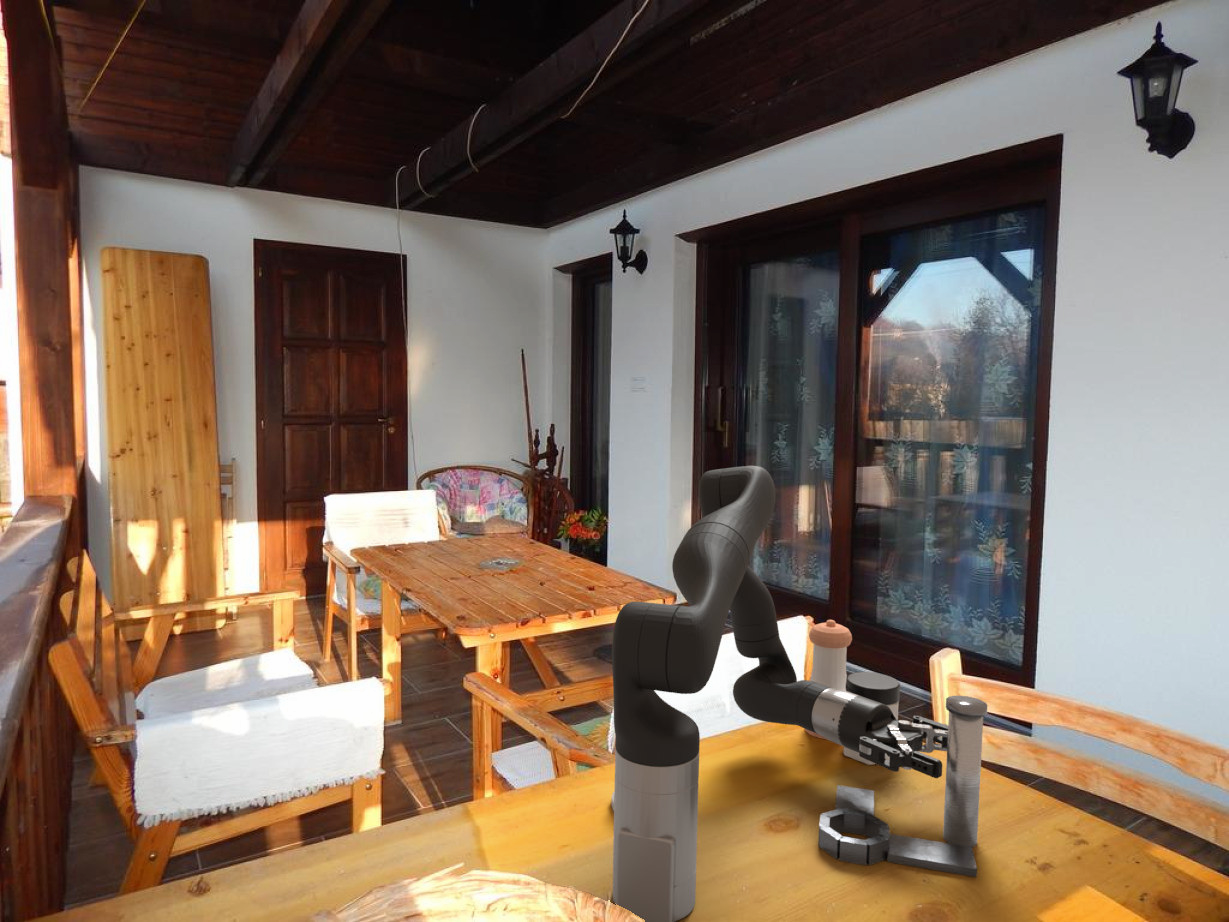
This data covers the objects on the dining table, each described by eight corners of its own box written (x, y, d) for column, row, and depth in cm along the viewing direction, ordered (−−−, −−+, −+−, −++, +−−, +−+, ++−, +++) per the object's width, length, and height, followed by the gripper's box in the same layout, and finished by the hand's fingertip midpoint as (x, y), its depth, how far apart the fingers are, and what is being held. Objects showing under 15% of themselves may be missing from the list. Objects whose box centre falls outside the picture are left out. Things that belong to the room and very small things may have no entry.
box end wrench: (978, 885, 94) (979, 864, 94) (817, 856, 100) (817, 837, 100) (961, 810, 112) (962, 793, 112) (824, 789, 117) (825, 773, 117)
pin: (982, 852, 101) (989, 711, 100) (941, 845, 103) (947, 706, 101) (977, 833, 106) (984, 698, 105) (938, 826, 107) (944, 693, 106)
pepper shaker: (825, 743, 133) (830, 628, 132) (795, 727, 140) (799, 617, 138) (858, 735, 137) (863, 623, 136) (827, 719, 143) (831, 612, 142)
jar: (845, 739, 135) (848, 668, 134) (897, 746, 132) (900, 674, 132) (840, 761, 127) (843, 685, 126) (896, 770, 124) (899, 693, 123)
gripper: (821, 706, 112) (929, 746, 100) (882, 685, 121) (988, 720, 108) (819, 759, 113) (927, 806, 100) (880, 734, 122) (986, 775, 109)
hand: (959, 761), depth 104 cm, fingers open, 8 cm apart
